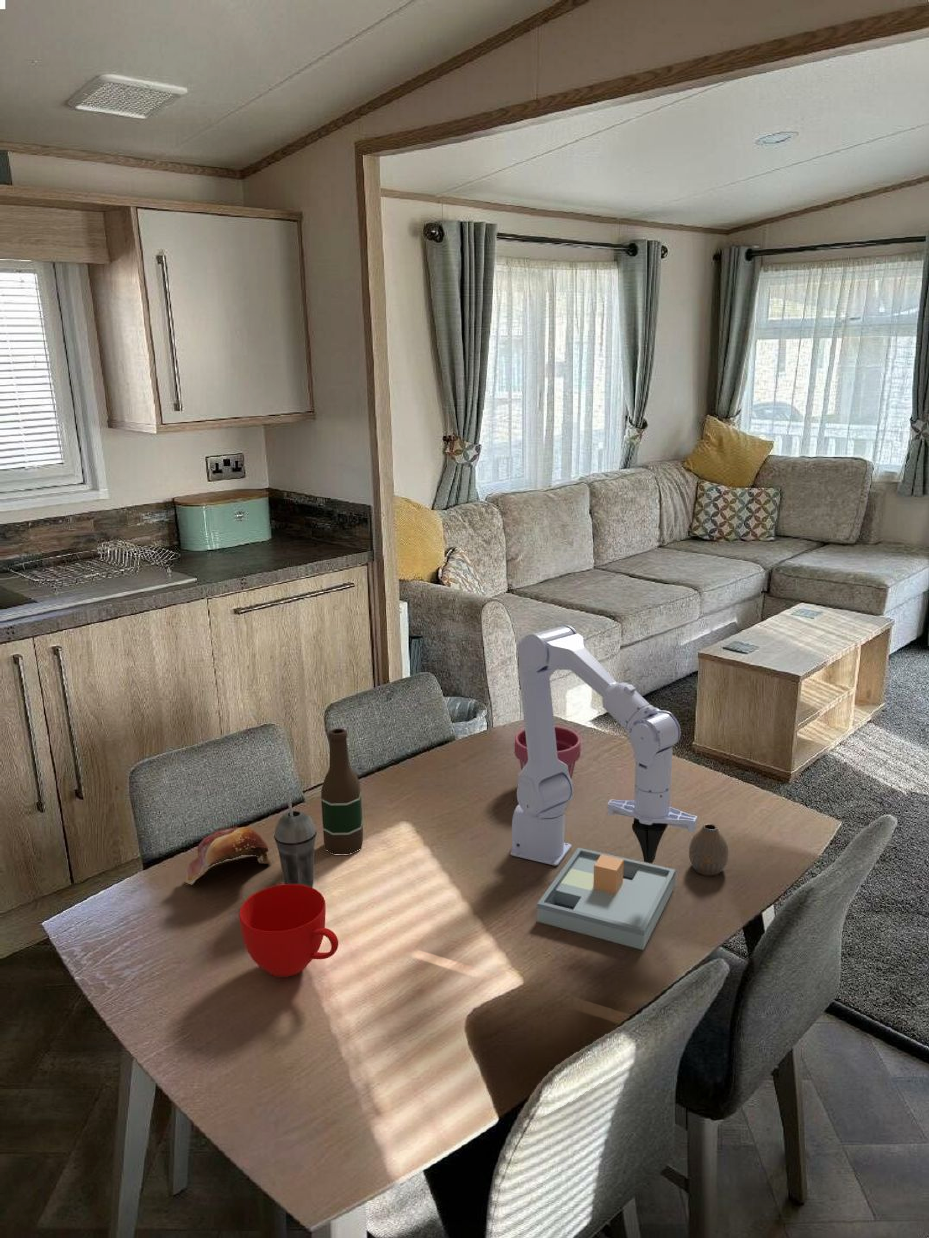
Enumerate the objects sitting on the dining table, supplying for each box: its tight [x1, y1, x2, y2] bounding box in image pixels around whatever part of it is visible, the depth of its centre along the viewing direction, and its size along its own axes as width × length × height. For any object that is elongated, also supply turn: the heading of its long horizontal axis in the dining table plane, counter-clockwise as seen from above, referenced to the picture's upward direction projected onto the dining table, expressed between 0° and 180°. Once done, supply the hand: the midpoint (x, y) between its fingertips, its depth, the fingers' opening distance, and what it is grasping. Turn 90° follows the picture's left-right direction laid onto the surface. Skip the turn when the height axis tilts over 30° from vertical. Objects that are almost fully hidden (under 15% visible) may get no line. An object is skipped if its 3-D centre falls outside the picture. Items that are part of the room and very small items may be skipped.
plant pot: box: [514, 725, 582, 780], centre depth 194 cm, size 14×14×13 cm
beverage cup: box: [273, 791, 318, 888], centre depth 157 cm, size 7×7×20 cm
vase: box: [688, 823, 729, 877], centre depth 163 cm, size 7×7×9 cm
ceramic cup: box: [238, 883, 339, 978], centre depth 138 cm, size 13×17×10 cm
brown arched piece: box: [187, 826, 271, 886], centre depth 164 cm, size 16×13×10 cm
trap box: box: [536, 847, 677, 951], centre depth 154 cm, size 18×20×3 cm
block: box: [593, 854, 624, 894], centre depth 155 cm, size 4×4×4 cm
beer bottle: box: [320, 728, 364, 855], centre depth 172 cm, size 8×8×24 cm
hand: (649, 859), depth 151 cm, fingers closed
